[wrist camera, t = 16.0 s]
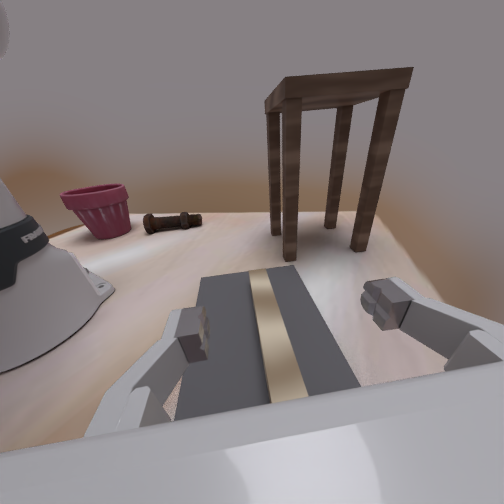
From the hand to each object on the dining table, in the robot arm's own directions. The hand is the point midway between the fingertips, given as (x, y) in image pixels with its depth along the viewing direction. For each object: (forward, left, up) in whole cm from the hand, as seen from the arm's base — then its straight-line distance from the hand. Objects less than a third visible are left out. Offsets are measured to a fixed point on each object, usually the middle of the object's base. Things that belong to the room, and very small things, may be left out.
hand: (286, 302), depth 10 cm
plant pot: (-63, +3, -13) cm, 64 cm away
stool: (-13, +29, -13) cm, 34 cm away
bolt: (-48, +15, -13) cm, 52 cm away
